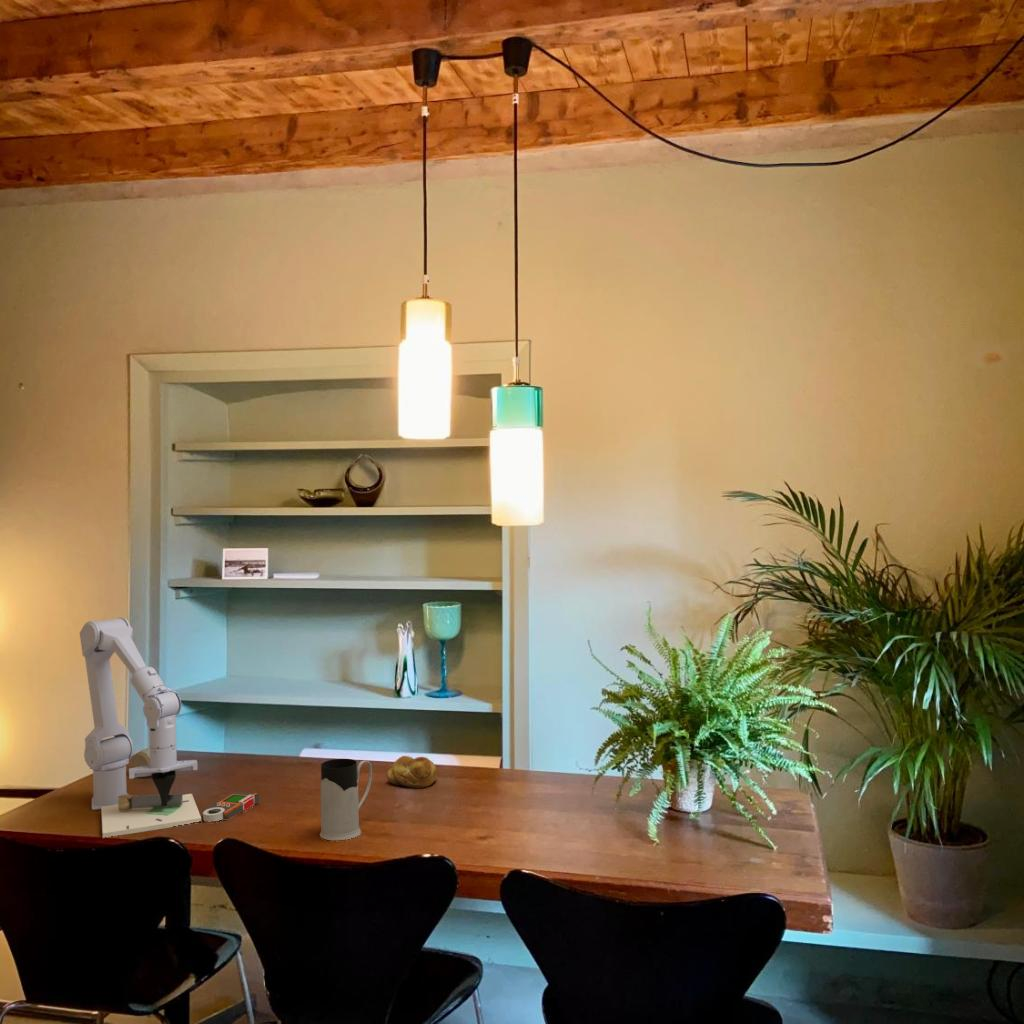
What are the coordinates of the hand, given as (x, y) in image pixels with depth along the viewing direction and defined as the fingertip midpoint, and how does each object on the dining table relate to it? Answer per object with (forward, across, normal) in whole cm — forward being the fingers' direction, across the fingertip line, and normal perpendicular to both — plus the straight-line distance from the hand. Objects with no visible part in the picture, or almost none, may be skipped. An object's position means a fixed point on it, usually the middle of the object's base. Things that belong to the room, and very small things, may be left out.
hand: (164, 805), depth 204 cm
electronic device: (+3, +14, -5) cm, 15 cm away
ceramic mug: (+3, +1, +37) cm, 37 cm away
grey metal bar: (+1, -3, +3) cm, 4 cm away
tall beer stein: (+3, +35, -30) cm, 46 cm away
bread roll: (+3, +58, -5) cm, 58 cm away
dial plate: (+2, -3, +1) cm, 4 cm away
